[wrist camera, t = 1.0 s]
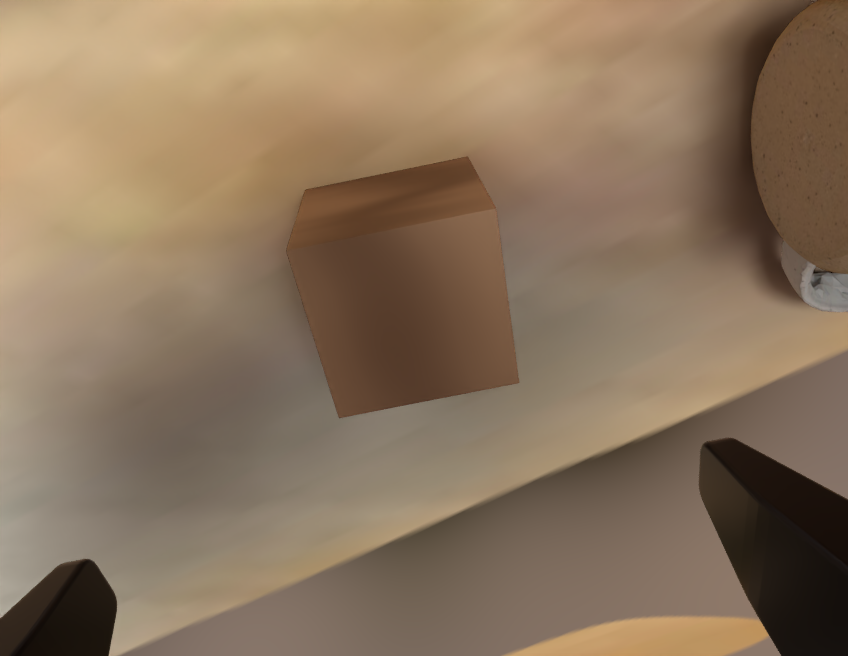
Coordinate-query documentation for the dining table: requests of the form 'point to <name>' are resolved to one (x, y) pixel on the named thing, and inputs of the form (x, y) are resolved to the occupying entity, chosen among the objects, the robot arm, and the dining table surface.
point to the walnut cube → (404, 286)
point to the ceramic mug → (807, 150)
